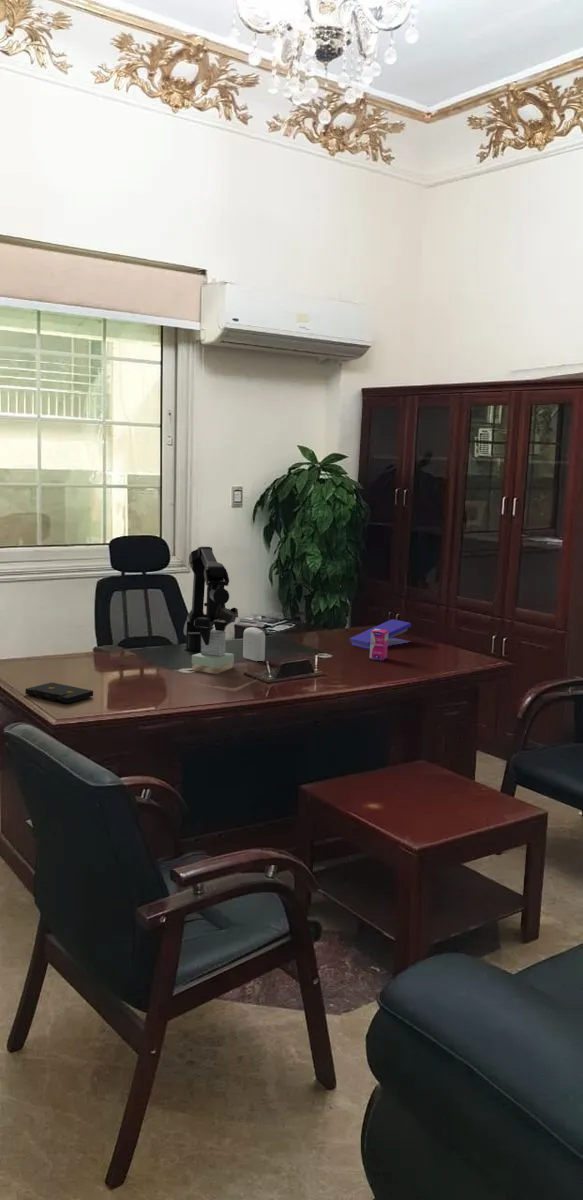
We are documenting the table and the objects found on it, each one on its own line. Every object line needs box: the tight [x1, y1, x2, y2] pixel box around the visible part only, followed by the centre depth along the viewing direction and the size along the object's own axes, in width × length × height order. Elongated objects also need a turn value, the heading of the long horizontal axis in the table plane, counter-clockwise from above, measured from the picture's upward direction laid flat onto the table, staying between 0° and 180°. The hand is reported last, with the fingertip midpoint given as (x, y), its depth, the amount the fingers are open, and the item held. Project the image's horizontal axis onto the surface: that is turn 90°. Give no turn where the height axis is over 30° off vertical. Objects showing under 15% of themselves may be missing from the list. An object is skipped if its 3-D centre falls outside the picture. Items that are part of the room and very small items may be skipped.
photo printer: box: [242, 626, 266, 662], centre depth 350 cm, size 10×4×12 cm, turn 39°
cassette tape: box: [25, 682, 94, 704], centre depth 288 cm, size 18×12×2 cm, turn 60°
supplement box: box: [369, 629, 389, 662], centre depth 361 cm, size 6×6×12 cm
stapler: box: [349, 618, 412, 651], centre depth 390 cm, size 12×28×10 cm, turn 133°
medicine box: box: [200, 629, 226, 656], centre depth 330 cm, size 8×4×9 cm, turn 66°
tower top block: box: [191, 652, 235, 667], centre depth 331 cm, size 10×12×3 cm
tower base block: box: [191, 662, 234, 674], centre depth 332 cm, size 10×12×3 cm
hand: (213, 643), depth 331 cm, fingers open, 9 cm apart
